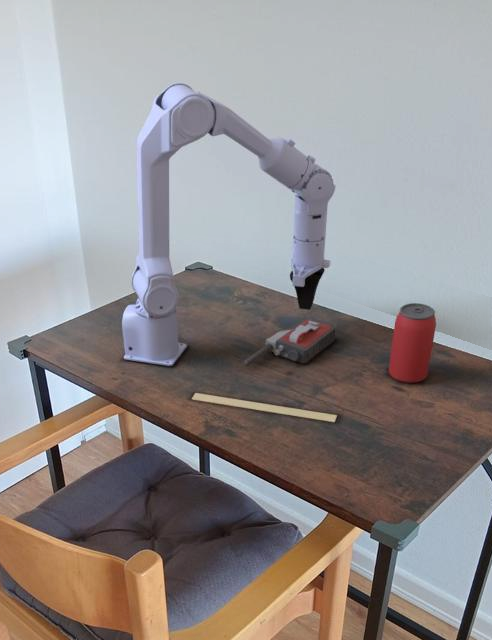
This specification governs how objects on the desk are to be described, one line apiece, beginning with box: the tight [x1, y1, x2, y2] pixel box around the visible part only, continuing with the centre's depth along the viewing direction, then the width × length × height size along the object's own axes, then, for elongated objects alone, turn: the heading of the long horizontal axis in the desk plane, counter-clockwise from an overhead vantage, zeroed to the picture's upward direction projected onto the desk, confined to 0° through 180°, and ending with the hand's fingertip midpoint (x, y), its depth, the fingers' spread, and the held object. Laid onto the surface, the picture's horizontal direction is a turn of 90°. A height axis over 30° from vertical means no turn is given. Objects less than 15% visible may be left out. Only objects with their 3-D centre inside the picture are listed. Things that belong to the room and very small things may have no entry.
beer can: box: [388, 302, 437, 384], centre depth 125 cm, size 7×7×12 cm
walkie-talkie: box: [243, 317, 336, 367], centre depth 135 cm, size 9×4×20 cm
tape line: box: [191, 392, 338, 423], centre depth 122 cm, size 24×2×1 cm, turn 71°
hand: (305, 307), depth 141 cm, fingers closed
